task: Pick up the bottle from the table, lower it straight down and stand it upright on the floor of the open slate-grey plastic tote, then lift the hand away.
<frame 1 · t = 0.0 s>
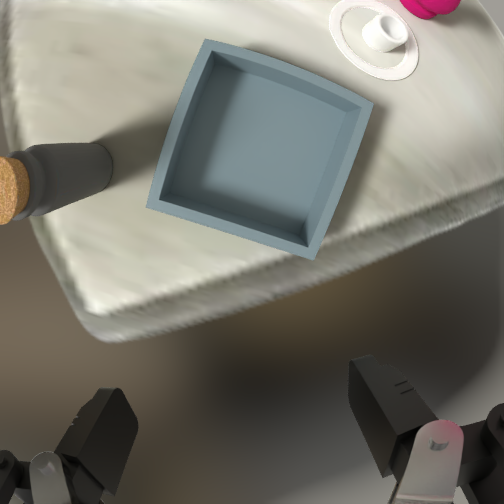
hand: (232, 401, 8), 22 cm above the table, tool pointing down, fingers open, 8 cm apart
pepper mill: (414, 2, 20), on the table
tote: (257, 147, 27), on the table
bottle: (92, 168, 26), on the table
candle holder: (374, 37, 23), on the table
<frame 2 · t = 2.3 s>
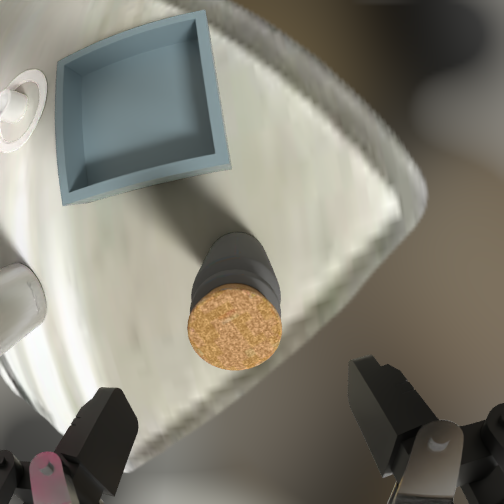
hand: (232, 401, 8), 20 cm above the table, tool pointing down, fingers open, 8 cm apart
tote: (143, 111, 24), on the table
bottle: (237, 260, 28), on the table
candle holder: (20, 110, 23), on the table
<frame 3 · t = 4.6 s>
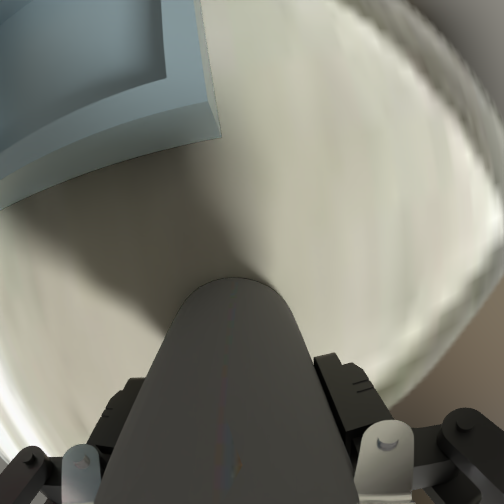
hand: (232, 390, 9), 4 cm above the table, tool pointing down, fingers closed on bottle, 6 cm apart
tote: (65, 51, 9), on the table
bottle: (235, 331, 13), on the table, touching gripper
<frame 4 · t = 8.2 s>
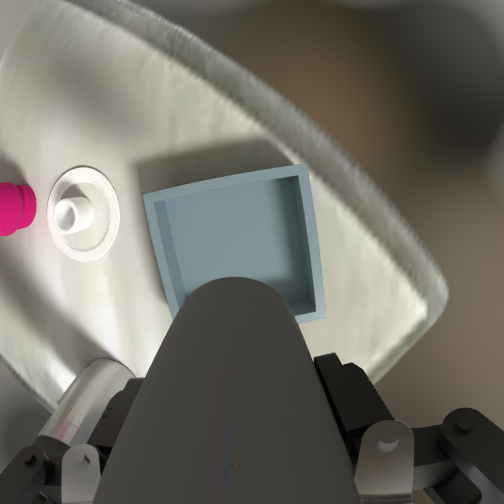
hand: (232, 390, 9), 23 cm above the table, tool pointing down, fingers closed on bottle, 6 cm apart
pepper mill: (24, 206, 30), on the table
tote: (238, 249, 32), on the table
bottle: (235, 330, 13), point 19 cm above the table, touching gripper
candle holder: (83, 214, 31), on the table
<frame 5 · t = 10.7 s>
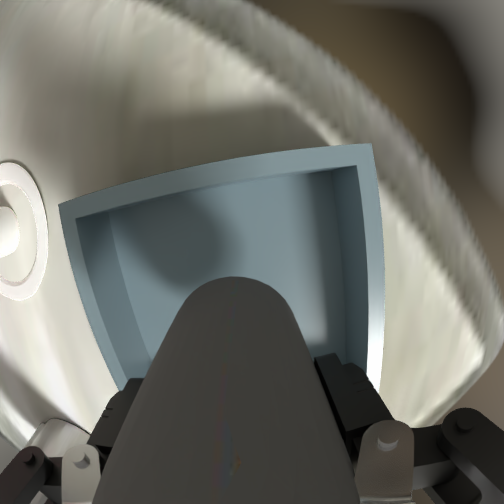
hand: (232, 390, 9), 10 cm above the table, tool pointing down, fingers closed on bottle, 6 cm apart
tote: (235, 295, 18), on the table
bottle: (235, 329, 13), point 5 cm above the table, touching gripper
candle holder: (10, 231, 17), on the table
when the fingers open (7 cm above the table, at t = 12.2 s): bottle drops 2 cm, resting on tote.
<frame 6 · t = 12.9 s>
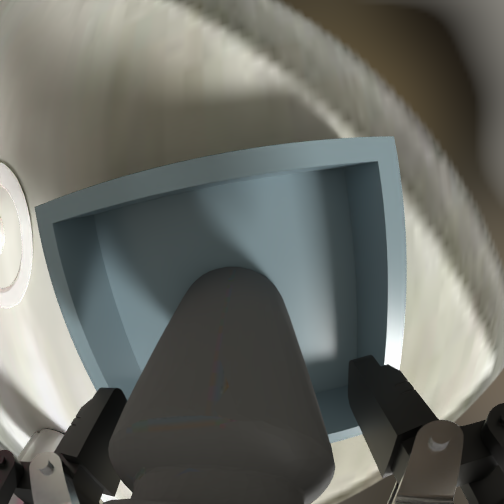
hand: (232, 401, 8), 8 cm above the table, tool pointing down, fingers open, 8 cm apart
tote: (236, 307, 16), on the table
bottle: (233, 314, 15), point 1 cm above the table, touching tote
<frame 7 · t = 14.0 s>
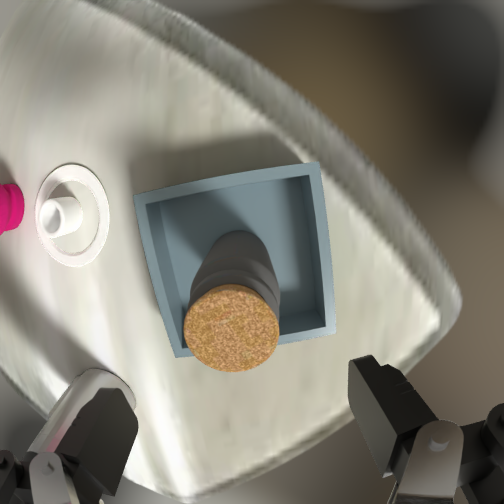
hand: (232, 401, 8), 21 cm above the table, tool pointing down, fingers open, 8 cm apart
pepper mill: (12, 206, 27), on the table
tote: (240, 255, 29), on the table
bottle: (239, 258, 28), point 1 cm above the table, touching tote
candle holder: (72, 215, 28), on the table
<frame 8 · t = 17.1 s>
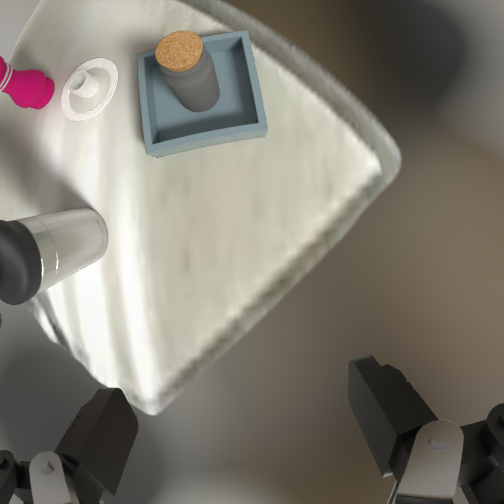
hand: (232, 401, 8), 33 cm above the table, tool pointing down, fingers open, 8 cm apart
pepper mill: (43, 94, 34), on the table
tote: (202, 96, 36), on the table
bottle: (200, 95, 35), point 1 cm above the table, touching tote
candle holder: (89, 89, 35), on the table
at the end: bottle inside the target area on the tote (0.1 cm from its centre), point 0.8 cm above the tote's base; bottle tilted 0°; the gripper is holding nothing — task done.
